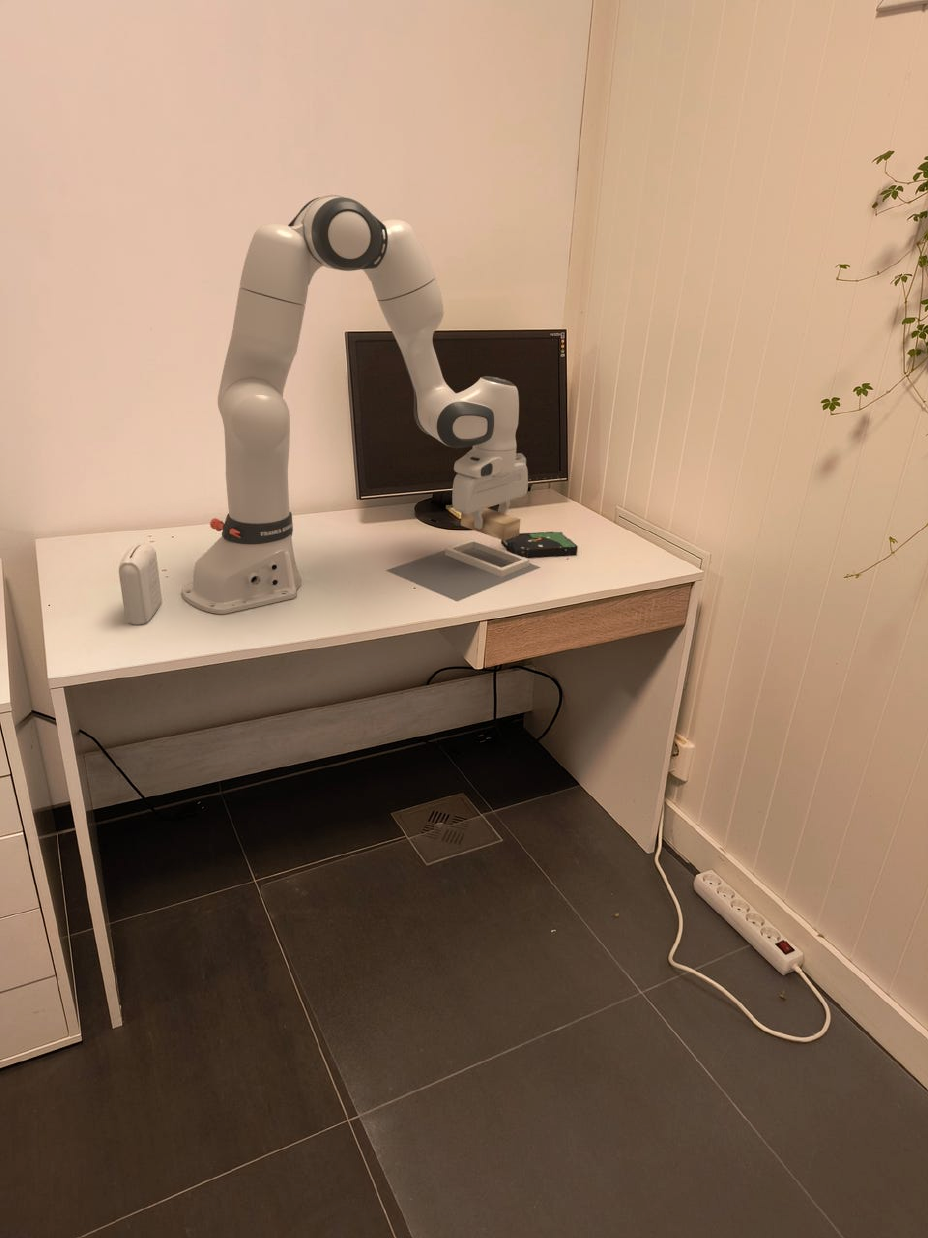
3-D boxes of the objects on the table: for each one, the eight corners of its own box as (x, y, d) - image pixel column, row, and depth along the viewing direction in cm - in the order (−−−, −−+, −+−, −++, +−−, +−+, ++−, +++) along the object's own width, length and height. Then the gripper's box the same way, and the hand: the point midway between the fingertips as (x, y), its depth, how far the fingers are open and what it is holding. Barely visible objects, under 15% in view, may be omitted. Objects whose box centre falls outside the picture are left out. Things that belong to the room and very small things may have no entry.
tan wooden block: (460, 525, 171) (461, 509, 170) (476, 520, 175) (477, 504, 173) (503, 540, 164) (504, 524, 163) (519, 535, 168) (520, 519, 166)
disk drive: (515, 562, 175) (577, 557, 179) (516, 550, 174) (579, 545, 178) (499, 545, 184) (559, 541, 188) (500, 533, 183) (560, 529, 187)
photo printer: (141, 600, 147) (132, 536, 142) (165, 600, 148) (157, 537, 142) (122, 625, 138) (112, 558, 133) (148, 626, 138) (139, 559, 133)
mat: (457, 603, 153) (457, 593, 152) (385, 572, 165) (385, 563, 164) (540, 568, 171) (541, 560, 170) (470, 543, 183) (471, 535, 182)
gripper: (514, 448, 172) (509, 510, 178) (448, 464, 158) (445, 531, 164) (537, 454, 168) (532, 517, 174) (472, 471, 154) (468, 539, 160)
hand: (489, 524), depth 169 cm, fingers closed on tan wooden block, 5 cm apart
